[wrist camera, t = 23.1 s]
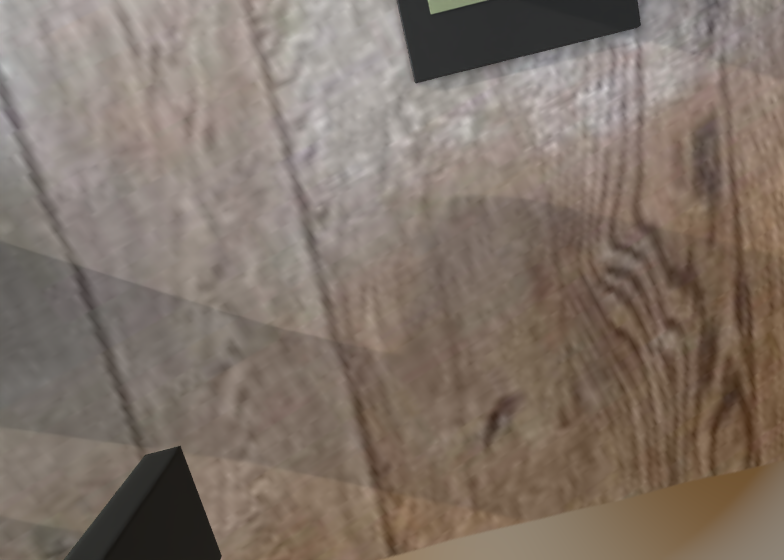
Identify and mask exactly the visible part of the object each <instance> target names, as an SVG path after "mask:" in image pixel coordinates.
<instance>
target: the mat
mask: <svg viewBox="0 0 784 560" xmlns="http://www.w3.org/2000/svg"><path fill="white" fill-rule="evenodd" d="M397 4H398V8H399V13H400V17H401V22H402V26H403V31H404V35H405V40H406V44H407V49H408V53H409V58H410V62H411V67H412V71H413V76H414V80H415V83H418V82H422V81H426V80H430V79H434V78H438V77H442V76H446V75H450V74H454V73H458V72H462V71H466V70H470V69H474V68H478V67H482V66H486V65H490V64H494V63H498V62H502V61H506V60H510V59H514V58H518V57H522V56H526V55H530V54H534V53H538V52H542V51H546V50H550V49H554V48H558V47H562V46H566V45H570V44H574V43H578V42H582V41H586V40H590V39H594V38H598V37H602V36H606V35H610V34H614V33H618V32H622V31H626V30H630V29H634V28H638V27H639V26H641V24H640V16H639V9H638V2H637V0H397Z"/></svg>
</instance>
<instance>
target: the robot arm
mask: <svg viewBox="0 0 784 560" xmlns="http://www.w3.org/2000/svg"><path fill="white" fill-rule="evenodd" d="M221 556H222V555H221V553H220V550H219V547H218V545H217V542H216V539H215V537H214V534H213V531H212V529H211V526H210V523H209V521H208V518H207V515H206V513H205V510H204V507H203V505H202V502H201V499H200V497H199V494H198V491H197V489H196V486H195V484H194V481H193V478H192V476H191V473H190V470H189V468H188V465H187V462H186V460H185V457H184V454H183V452H182V449H181V446H178V447H174V448H170V449H166V450H163V451H159V452H155V453H151V454H147V455H145V456H144V457H143V459H142V460H141V461H140V462H139V464H138V465H137V466H136V468H135V469H134V470H133V471H132V473H131V474H130V475H129V477H128V478H127V479H126V480H125V482H124V483H123V484H122V486H121V487H120V488H119V489H118V491H117V492H116V493H115V495H114V496H113V497H112V498H111V500H110V501H109V502H108V504H107V505H106V506H105V507H104V509H103V510H102V511H101V513H100V514H99V515H98V516H97V518H96V519H95V520H94V522H93V523H92V524H91V525H90V527H89V528H88V529H87V531H86V532H85V533H84V534H83V536H82V537H81V538H80V539H79V541H78V542H77V543H76V545H75V546H74V547H73V548H72V550H71V551H70V552H69V554H68V555H67V556H66V557H65V559H64V560H220V559H221Z"/></svg>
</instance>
